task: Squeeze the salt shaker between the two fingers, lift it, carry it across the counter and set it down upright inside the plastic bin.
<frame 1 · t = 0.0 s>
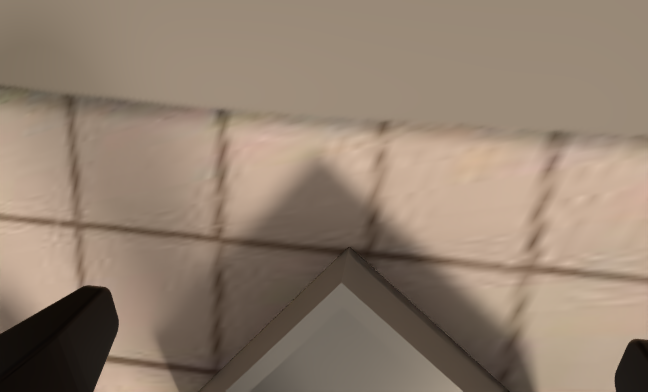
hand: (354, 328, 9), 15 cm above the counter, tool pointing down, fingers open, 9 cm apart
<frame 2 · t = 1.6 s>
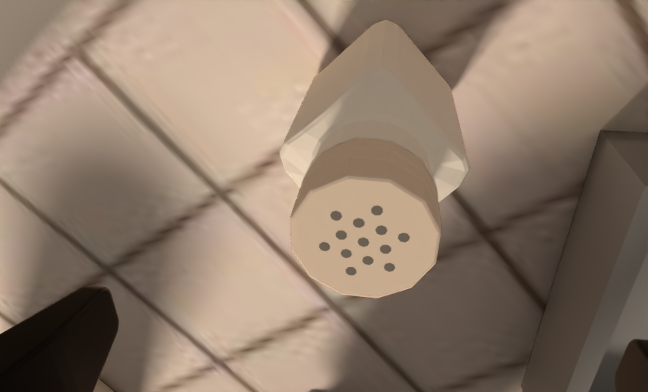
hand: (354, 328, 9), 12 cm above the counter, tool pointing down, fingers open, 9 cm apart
salt shaker: (380, 86, 19), on the counter
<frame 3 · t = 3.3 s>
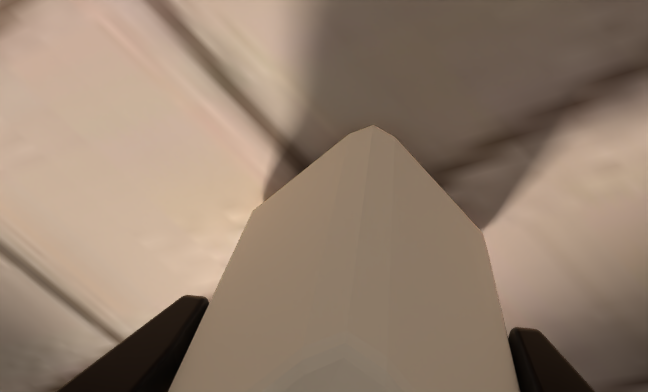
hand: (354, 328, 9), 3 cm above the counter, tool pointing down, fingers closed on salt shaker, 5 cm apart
salt shaker: (366, 217, 11), on the counter, touching gripper
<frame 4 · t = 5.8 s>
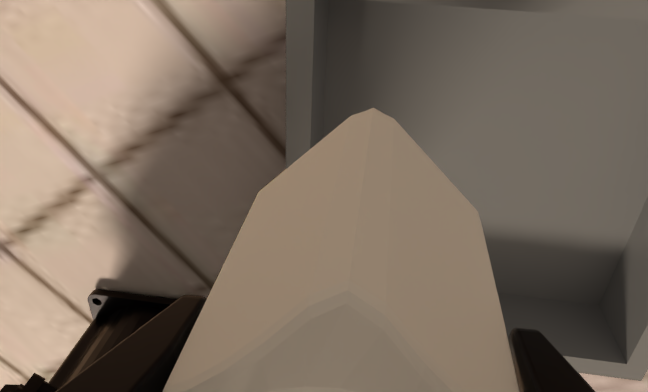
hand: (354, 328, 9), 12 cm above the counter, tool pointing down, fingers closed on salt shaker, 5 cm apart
bin: (480, 155, 20), on the counter
salt shaker: (366, 198, 12), point 8 cm above the counter, touching gripper
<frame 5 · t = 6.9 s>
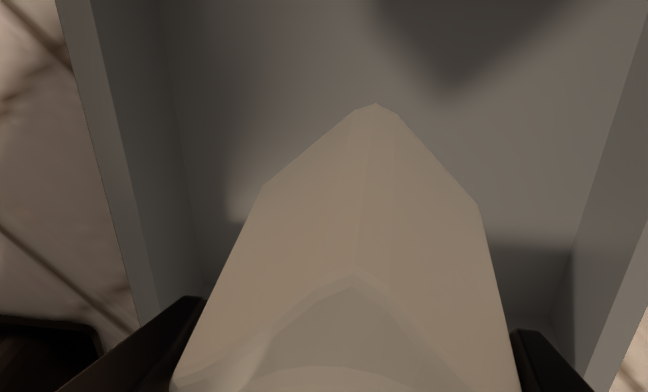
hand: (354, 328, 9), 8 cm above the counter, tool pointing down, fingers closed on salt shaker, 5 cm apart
bin: (380, 133, 16), on the counter
salt shaker: (368, 192, 12), point 4 cm above the counter, touching gripper
when the fingers open (5 cm above the counter, at t = 8.3 s): salt shaker stays where it is, resting on bin.
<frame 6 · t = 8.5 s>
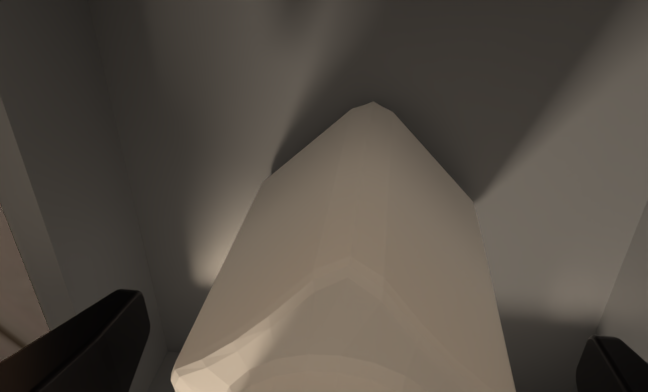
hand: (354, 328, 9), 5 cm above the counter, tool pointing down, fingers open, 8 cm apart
bin: (371, 185, 13), on the counter
salt shaker: (366, 190, 12), point 1 cm above the counter, touching bin
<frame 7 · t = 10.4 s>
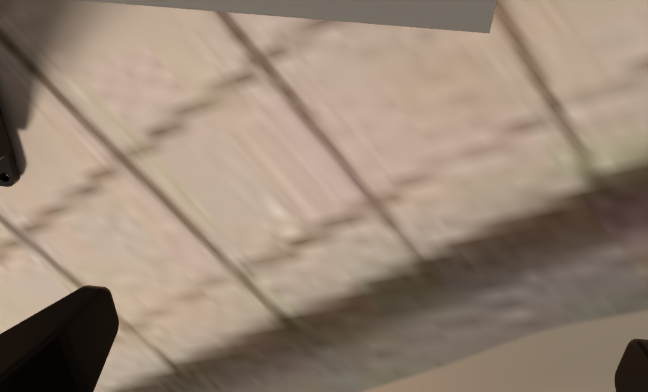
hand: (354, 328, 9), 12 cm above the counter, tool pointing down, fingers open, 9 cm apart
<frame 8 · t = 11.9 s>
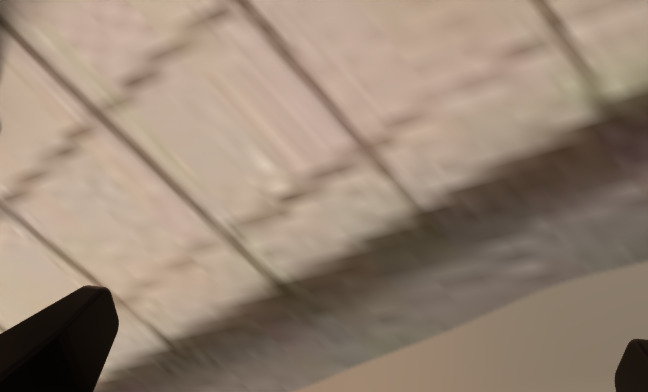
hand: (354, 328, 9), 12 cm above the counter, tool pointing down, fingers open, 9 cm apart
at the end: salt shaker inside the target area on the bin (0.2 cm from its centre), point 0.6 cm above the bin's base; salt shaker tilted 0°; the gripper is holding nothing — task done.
